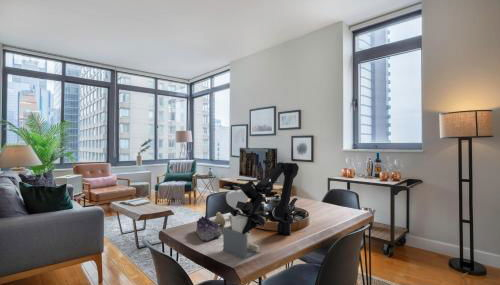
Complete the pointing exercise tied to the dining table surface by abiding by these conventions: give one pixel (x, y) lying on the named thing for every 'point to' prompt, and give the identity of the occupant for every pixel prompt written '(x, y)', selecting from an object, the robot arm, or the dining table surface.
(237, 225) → the white tapered vase
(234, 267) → the dining table surface
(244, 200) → the heart sculpture
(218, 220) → the beige lumpy piece
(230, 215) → the hinge
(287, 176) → the robot arm
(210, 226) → the geode
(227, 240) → the bookend
